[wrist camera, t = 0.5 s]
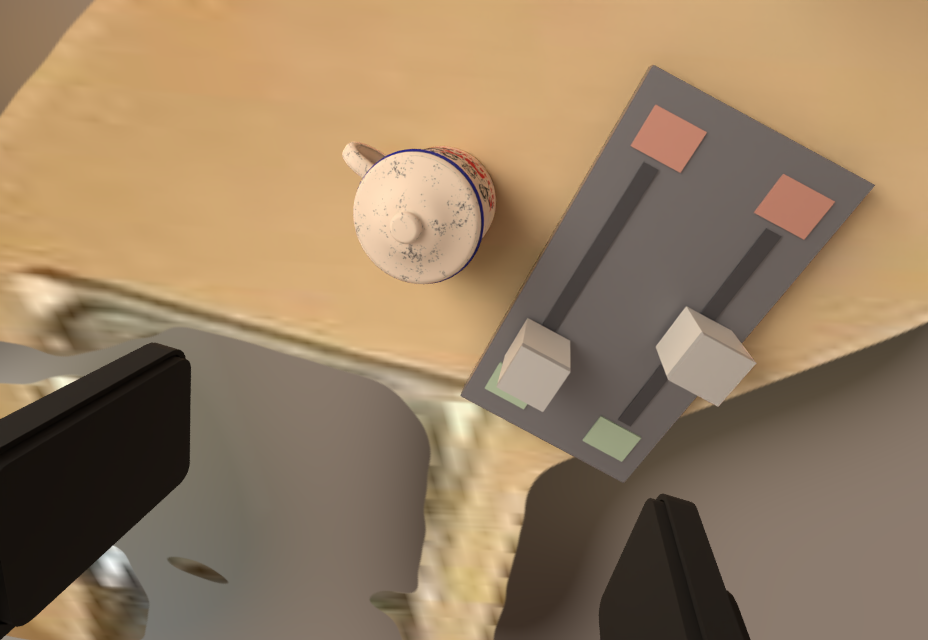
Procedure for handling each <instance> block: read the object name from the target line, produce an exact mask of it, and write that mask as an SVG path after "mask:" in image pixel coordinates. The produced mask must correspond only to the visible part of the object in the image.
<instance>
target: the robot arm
mask: <svg viewBox="0 0 928 640" xmlns="http://www.w3.org/2000/svg"><path fill="white" fill-rule="evenodd" d="M190 387H191V366H190V362H189V361H188V360H186V358H185V355H184V353H183V352H182V351H181V350H178V349H175V348H172V347H168V346H165V345H162V344H158V343H149V344H147V345H145V346H143V347H141V348H139V349H137V350H135V351H133V352H131V353H129V354H127V355H125V356H123V357H121V358H119V359H117V360H115V361H113V362H111V363H109V364H108V365H105V366H103V367H101V368H100V369H98V370H96V371H94V372H92V373H90V374H88V375H86V376H84V377H82V378H80V379H78V380H76V381H74V382H72V383H70V384H68V385H66V386H64V387H62V388H60V389H58V390H56V391H54V392H53V393H51V394H49V395H47V396H45V397H43V398H41V399H39V400H37V401H35V402H33V403H31V404H29V405H27V406H25V407H23V408H21V409H19V410H17V411H15V412H13V413H11V414H9V415H8V416H6V417H4V418H2V419H0V640H1V639H2V638H3V637H4V636H5V635H6V634H8V633H9V632H10V631H11V630H12V629H13V628H14V627H15V626H16V627H18V626H23V625H24V624H26V623H28V622H29V621H31V620H32V619H33V618H34V617H36V616H37V615H38V614H39V613H40V612H41V611H42V610H43V609H44V608H45V607H46V606H47V605H49V604H50V603H51V602H52V601H53V600H54V599H55V598H56V597H57V596H58V595H59V594H61V593H62V592H63V591H64V590H65V589H66V588H67V587H68V586H69V585H70V584H71V583H72V582H74V581H75V580H76V579H77V578H78V577H79V576H80V575H81V574H82V573H83V572H84V571H86V570H87V569H88V568H89V567H90V566H91V565H92V564H93V563H94V562H95V561H96V560H97V559H99V558H100V557H101V556H102V555H103V554H104V553H105V552H106V551H107V550H108V549H109V548H111V547H112V546H113V545H114V544H115V543H116V542H117V541H118V540H119V539H120V538H121V537H122V536H124V535H125V534H126V533H127V532H128V531H129V530H130V529H131V528H132V527H133V526H134V525H136V523H138V522H139V521H140V520H141V519H142V518H143V517H144V516H145V515H146V514H147V513H148V512H150V511H151V510H152V509H153V508H154V507H155V506H156V505H157V504H158V503H159V502H160V501H161V500H163V499H164V498H165V497H166V496H167V495H168V494H169V493H170V492H171V491H172V490H174V489H175V488H176V487H177V486H178V485H179V484H180V483H181V482H182V481H183V479H184V478H185V476H186V474H187V472H188V469H189V464H190V462H189V461H190V393H191V388H190ZM599 627H600V640H750V637H749V634H748V632H747V629H746V626H745V624H744V621H743V619H742V616H741V613H740V610H739V608H738V605H737V603H736V601H735V599H734V597H733V595H732V594H731V593H729V592H728V591H727V590H726V588H725V586H724V583H723V580H722V577H721V574H720V572H719V569H718V566H717V563H716V561H715V558H714V555H713V552H712V549H711V547H710V544H709V541H708V538H707V535H706V533H705V530H704V527H703V524H702V521H701V519H700V516H699V513H698V510H697V508H696V506H695V504H694V503H692V502H689V501H686V500H683V499H679V498H676V497H673V496H669V495H666V494H660V495H659V496H658V497H657V499H656V500H655V499H652V498H649V499H648V500H647V501H646V502H645V504H644V506H643V509H642V511H641V513H640V515H639V517H638V519H637V522H636V524H635V526H634V528H633V530H632V533H631V535H630V537H629V539H628V541H627V543H626V546H625V548H624V550H623V552H622V554H621V557H620V559H619V561H618V563H617V566H616V567H615V570H614V572H613V574H612V576H611V578H610V581H609V583H608V585H607V587H606V589H605V592H604V594H603V596H602V599H601V602H600V608H599Z"/></svg>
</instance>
